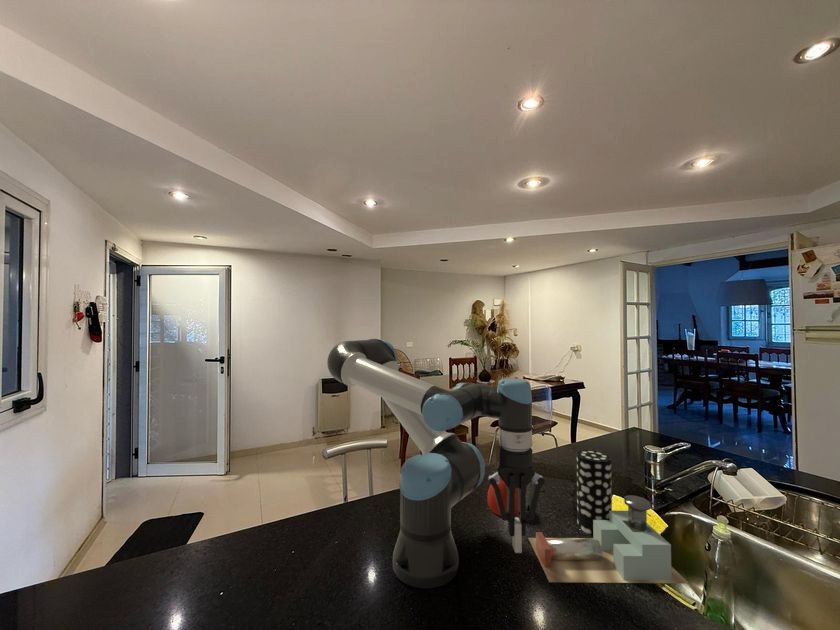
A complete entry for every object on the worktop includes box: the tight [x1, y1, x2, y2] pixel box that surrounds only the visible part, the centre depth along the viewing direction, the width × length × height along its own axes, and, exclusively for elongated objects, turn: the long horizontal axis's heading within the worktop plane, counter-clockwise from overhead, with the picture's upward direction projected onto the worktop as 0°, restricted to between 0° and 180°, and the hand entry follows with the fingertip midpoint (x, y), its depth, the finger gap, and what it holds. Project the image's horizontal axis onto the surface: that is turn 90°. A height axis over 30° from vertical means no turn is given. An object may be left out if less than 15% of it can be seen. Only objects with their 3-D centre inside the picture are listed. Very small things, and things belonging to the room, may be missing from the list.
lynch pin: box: [535, 531, 603, 568], centre depth 81 cm, size 13×6×4 cm, turn 89°
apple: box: [486, 477, 519, 517], centre depth 103 cm, size 10×10×10 cm
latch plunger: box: [623, 494, 652, 531], centre depth 81 cm, size 5×5×6 cm
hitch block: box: [592, 509, 672, 580], centre depth 81 cm, size 10×13×7 cm
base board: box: [528, 537, 689, 584], centre depth 81 cm, size 29×15×1 cm, turn 89°
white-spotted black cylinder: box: [576, 449, 613, 536], centre depth 93 cm, size 8×8×20 cm
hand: (516, 548), depth 81 cm, fingers closed
